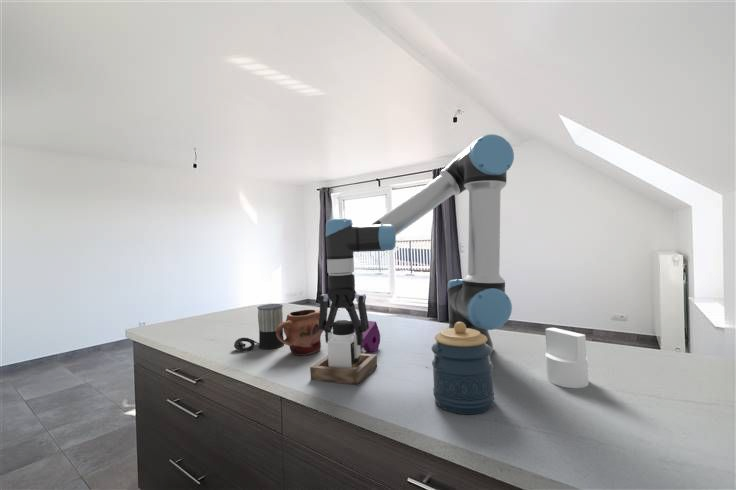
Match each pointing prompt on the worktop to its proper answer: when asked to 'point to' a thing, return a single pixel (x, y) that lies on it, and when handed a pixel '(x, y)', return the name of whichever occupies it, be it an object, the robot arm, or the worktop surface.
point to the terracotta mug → (301, 332)
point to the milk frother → (265, 328)
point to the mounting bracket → (371, 337)
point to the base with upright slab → (566, 358)
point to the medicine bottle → (342, 345)
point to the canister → (462, 370)
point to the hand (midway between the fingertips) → (344, 355)
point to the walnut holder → (344, 371)
